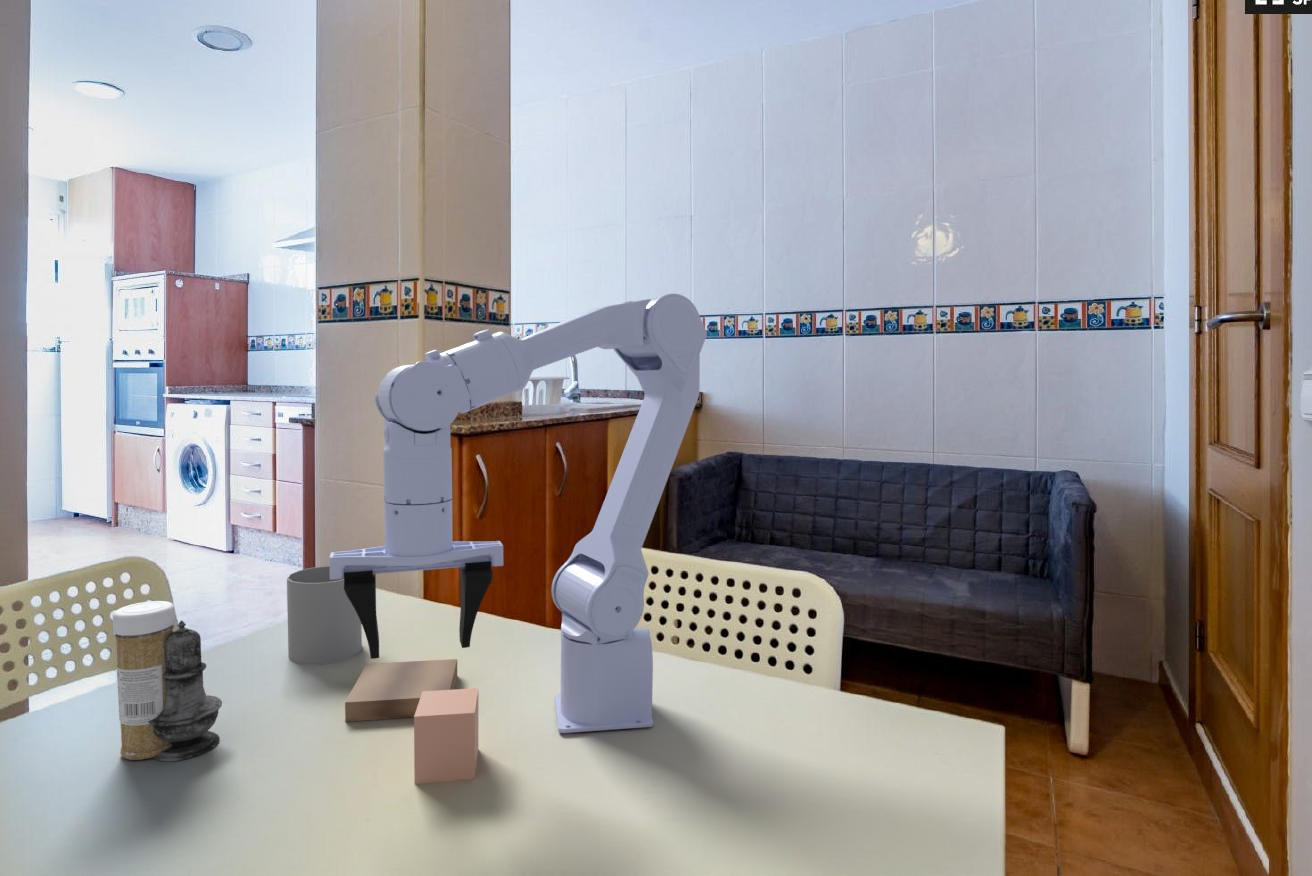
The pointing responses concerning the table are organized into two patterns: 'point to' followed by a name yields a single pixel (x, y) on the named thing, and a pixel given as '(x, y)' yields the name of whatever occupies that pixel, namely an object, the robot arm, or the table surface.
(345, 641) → the cup
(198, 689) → the salt shaker
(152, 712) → the sprinkles bottle
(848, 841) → the table surface
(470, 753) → the block
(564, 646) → the robot arm
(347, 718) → the board
